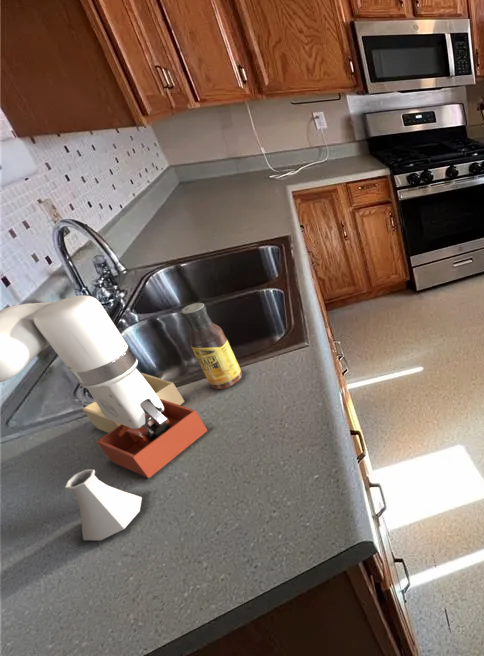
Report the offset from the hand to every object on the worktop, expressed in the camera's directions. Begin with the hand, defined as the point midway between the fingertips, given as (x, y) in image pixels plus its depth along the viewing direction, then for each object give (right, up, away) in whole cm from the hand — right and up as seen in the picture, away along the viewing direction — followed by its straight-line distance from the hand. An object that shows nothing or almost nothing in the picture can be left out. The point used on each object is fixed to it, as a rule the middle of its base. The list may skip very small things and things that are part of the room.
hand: (157, 439), depth 78 cm
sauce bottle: (+2, +7, +16) cm, 18 cm away
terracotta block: (0, 0, 0) cm, 0 cm away
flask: (+3, -8, -12) cm, 15 cm away
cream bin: (-11, +2, +9) cm, 14 cm away
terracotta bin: (0, -1, +1) cm, 2 cm away
